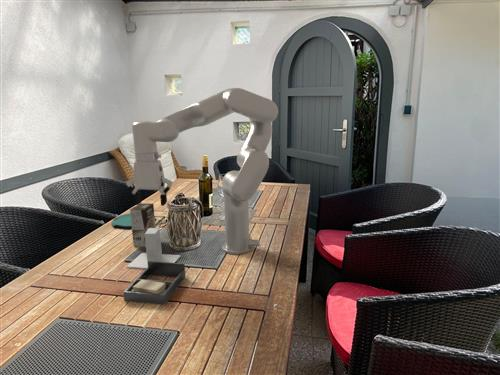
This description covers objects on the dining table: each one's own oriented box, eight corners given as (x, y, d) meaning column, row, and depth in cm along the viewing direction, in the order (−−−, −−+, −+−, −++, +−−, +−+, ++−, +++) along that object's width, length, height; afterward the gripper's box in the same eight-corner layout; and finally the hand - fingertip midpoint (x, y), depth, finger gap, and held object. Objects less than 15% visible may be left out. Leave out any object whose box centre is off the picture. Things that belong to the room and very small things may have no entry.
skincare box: (151, 257, 140) (148, 227, 137) (162, 257, 140) (159, 227, 137) (147, 264, 134) (144, 233, 131) (158, 264, 134) (156, 233, 131)
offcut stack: (167, 295, 115) (166, 283, 114) (159, 303, 111) (158, 290, 109) (140, 291, 118) (139, 279, 117) (131, 298, 113) (130, 286, 112)
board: (180, 256, 142) (180, 255, 142) (168, 270, 130) (168, 269, 130) (142, 253, 145) (142, 252, 145) (126, 267, 133) (126, 266, 133)
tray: (185, 276, 126) (184, 263, 124) (165, 304, 109) (163, 289, 108) (149, 274, 128) (148, 261, 127) (124, 300, 112) (122, 285, 111)
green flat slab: (123, 215, 192) (123, 211, 191) (179, 217, 189) (179, 213, 188) (105, 229, 173) (104, 225, 172) (166, 232, 170) (166, 227, 169)
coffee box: (147, 247, 151) (143, 209, 147) (133, 246, 152) (129, 209, 148) (157, 238, 160) (154, 203, 156) (143, 238, 161) (140, 202, 157)
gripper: (174, 155, 130) (177, 201, 135) (128, 155, 133) (133, 200, 138) (165, 159, 123) (169, 208, 127) (118, 159, 126) (123, 206, 130)
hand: (151, 204), depth 132 cm, fingers open, 9 cm apart
